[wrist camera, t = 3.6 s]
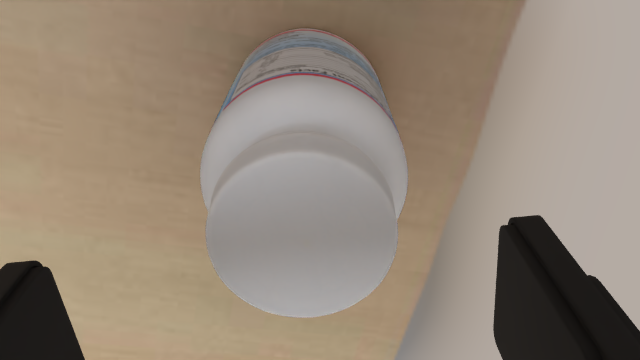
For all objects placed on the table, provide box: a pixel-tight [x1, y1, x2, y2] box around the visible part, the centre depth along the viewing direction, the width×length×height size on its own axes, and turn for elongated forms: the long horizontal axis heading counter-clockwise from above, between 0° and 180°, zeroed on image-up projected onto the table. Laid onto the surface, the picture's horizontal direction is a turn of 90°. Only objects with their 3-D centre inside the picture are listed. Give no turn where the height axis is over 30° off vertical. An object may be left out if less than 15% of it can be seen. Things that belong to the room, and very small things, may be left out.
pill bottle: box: [200, 28, 408, 318], centre depth 18 cm, size 6×6×11 cm
